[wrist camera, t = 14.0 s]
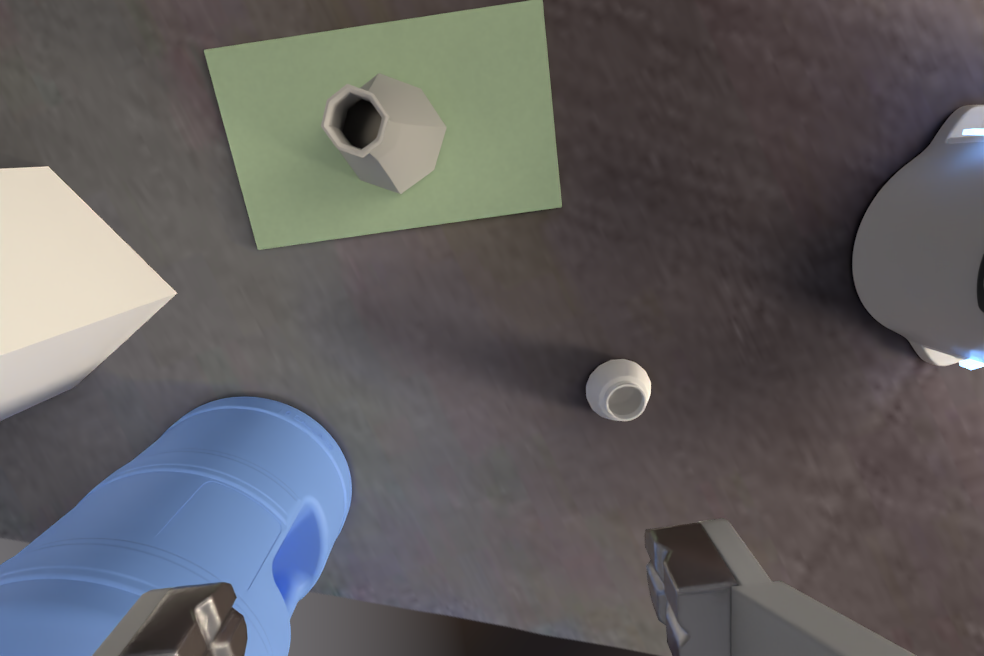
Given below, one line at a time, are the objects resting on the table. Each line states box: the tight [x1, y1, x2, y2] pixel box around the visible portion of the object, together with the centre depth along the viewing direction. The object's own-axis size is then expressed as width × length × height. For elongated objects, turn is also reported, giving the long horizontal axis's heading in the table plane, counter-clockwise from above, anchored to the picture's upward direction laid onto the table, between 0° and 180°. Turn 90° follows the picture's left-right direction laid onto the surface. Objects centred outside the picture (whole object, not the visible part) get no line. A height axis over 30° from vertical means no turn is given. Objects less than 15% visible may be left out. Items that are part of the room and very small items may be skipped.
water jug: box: [0, 396, 352, 656], centre depth 29 cm, size 16×16×28 cm
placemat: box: [204, 0, 562, 250], centre depth 34 cm, size 22×13×1 cm, turn 98°
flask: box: [321, 73, 447, 194], centre depth 30 cm, size 7×7×10 cm
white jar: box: [586, 359, 651, 421], centre depth 39 cm, size 5×3×5 cm
